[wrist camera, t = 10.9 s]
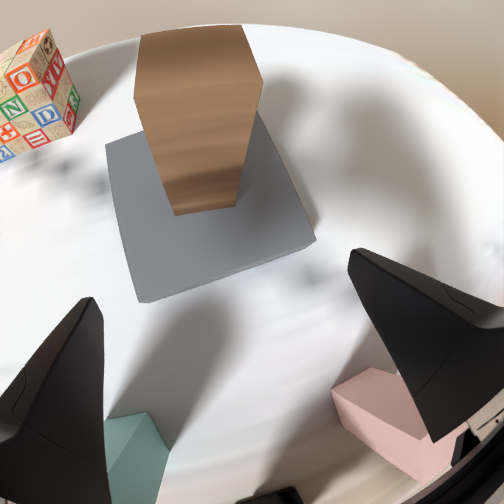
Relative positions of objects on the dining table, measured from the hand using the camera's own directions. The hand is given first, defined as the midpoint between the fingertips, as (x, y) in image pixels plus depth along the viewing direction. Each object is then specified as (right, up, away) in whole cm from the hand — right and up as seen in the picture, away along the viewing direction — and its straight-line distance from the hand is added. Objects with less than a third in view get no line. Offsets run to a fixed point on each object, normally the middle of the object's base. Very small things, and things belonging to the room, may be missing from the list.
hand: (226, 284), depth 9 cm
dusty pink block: (+11, -13, +13) cm, 21 cm away
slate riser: (-4, +6, +15) cm, 16 cm away
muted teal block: (-9, -15, +9) cm, 20 cm away
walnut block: (-3, +6, +12) cm, 14 cm away
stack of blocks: (-30, +15, +13) cm, 36 cm away
